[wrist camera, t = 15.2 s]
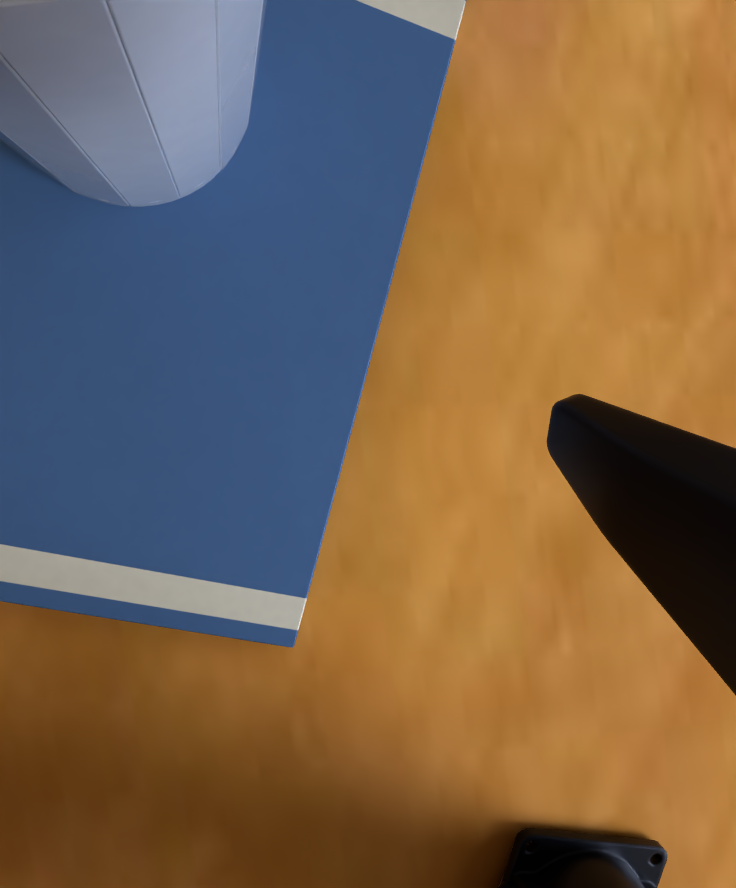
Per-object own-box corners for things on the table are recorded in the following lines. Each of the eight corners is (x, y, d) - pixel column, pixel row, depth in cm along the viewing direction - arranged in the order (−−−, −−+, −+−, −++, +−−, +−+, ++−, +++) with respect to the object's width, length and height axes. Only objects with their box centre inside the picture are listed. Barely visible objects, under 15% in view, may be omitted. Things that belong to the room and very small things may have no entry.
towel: (465, -13, 20) (472, -23, 20) (291, 640, 23) (293, 649, 23) (-48, -229, 17) (-58, -248, 17) (-184, 563, 20) (-196, 571, 19)
